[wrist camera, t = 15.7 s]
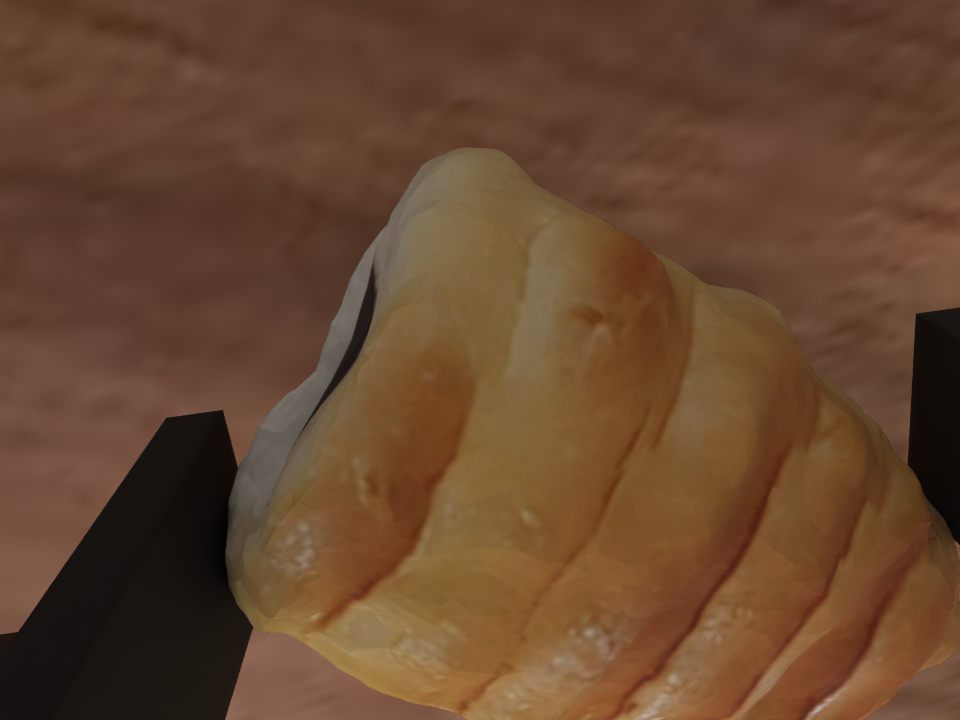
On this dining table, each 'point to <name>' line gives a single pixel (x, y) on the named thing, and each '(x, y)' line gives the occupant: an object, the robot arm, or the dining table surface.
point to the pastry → (581, 485)
